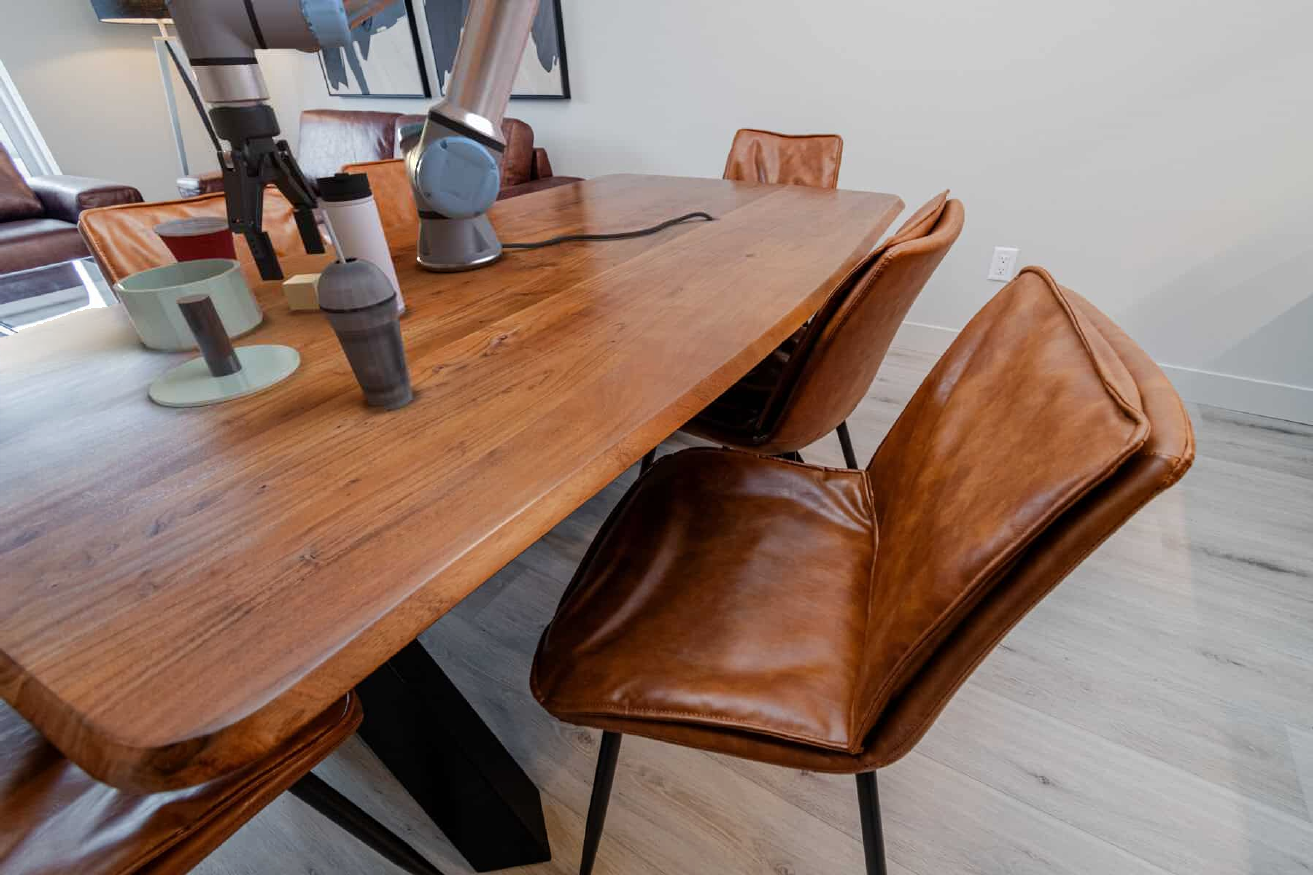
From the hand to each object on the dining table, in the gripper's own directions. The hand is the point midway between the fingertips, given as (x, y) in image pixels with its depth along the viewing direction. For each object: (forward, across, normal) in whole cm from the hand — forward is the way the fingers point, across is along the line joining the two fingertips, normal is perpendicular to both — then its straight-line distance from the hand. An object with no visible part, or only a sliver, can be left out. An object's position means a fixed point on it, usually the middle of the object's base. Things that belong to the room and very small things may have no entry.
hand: (296, 266), depth 90 cm
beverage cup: (+7, +33, +23) cm, 41 cm away
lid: (+6, +25, +1) cm, 26 cm away
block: (+7, 0, 0) cm, 7 cm away
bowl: (+7, +8, -12) cm, 16 cm away
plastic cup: (+7, -9, -19) cm, 22 cm away
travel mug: (+7, +6, +13) cm, 16 cm away
